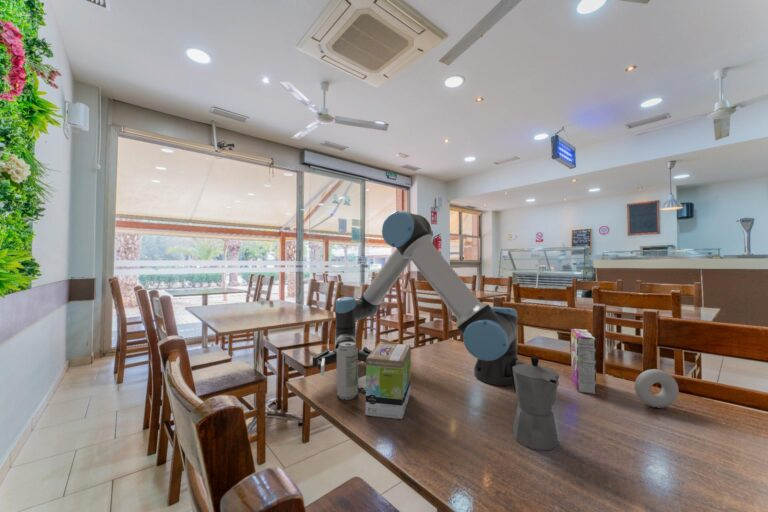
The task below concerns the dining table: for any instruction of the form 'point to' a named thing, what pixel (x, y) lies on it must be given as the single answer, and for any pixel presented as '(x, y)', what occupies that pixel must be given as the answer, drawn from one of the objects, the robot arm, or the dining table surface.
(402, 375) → the tea box
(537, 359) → the coffeepot
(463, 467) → the dining table surface
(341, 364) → the energy drink can
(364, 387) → the pad
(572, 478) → the dining table surface
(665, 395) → the donut
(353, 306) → the robot arm
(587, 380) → the candy bar box
